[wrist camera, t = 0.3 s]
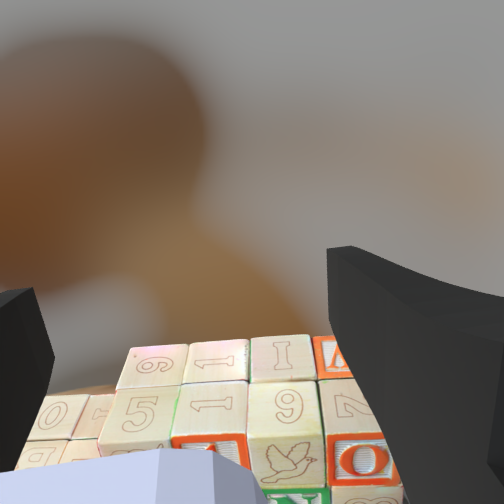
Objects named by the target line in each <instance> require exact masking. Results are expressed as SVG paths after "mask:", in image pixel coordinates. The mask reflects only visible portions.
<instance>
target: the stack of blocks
mask: <svg viewBox="0 0 504 504" xmlns="http://www.w3.org/2000/svg"><path fill="white" fill-rule="evenodd" d="M159 448H174V449H197V450H212V451H214V452H216V453H218V454H220V455H222V456H224V457H226V458H228V459H230V460H231V461H233V462H235V463H237V464H239V465H241V466H243V467H245V468H247V469H249V470H251V471H252V472H253V474H254V476H255V478H256V480H257V482H258V484H259V486H260V487H261V489H262V491H263V493H264V495H265V497H266V499H267V501H268V503H269V504H403V490H404V487H403V484H402V481H401V479H400V476H399V473H398V471H397V468H396V466H395V463H394V461H393V458H392V456H391V453H390V450H389V448H388V445H387V443H386V440H385V438H384V435H383V433H382V431H381V429H380V427H379V425H378V423H377V420H376V418H375V416H374V415H373V413H372V411H371V409H370V407H369V405H368V403H367V401H366V400H365V398H364V396H363V394H362V392H361V390H360V388H359V386H358V384H357V383H356V381H355V379H354V377H353V375H352V373H351V371H350V369H349V367H348V366H347V364H346V362H345V360H344V358H343V356H342V354H341V352H340V350H339V347H338V344H337V342H336V339H335V336H334V335H332V336H316V337H313V338H311V337H310V336H309V335H307V334H304V335H287V336H272V337H258V338H252V339H251V340H250V341H248V340H246V339H236V340H225V341H211V342H196V343H193V344H191V345H187V344H177V345H163V346H149V347H134V348H131V349H130V352H129V354H128V357H127V360H126V363H125V365H124V368H123V371H122V373H121V376H120V379H119V382H118V384H117V387H116V393H115V394H101V395H90V394H83V395H64V396H45V398H44V400H43V403H42V405H41V408H40V410H39V413H38V415H37V418H36V420H35V422H34V425H33V427H32V429H31V432H30V434H29V437H28V439H27V441H26V444H25V446H24V448H23V451H22V453H21V455H20V458H19V460H18V462H17V465H16V467H15V470H14V471H16V470H22V469H29V468H35V467H42V466H48V465H55V464H61V463H68V462H74V461H81V460H87V459H94V458H100V457H107V456H113V455H120V454H126V453H133V452H139V451H146V450H152V449H159Z"/></svg>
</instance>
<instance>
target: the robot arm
mask: <svg viewBox="0 0 504 504" xmlns="http://www.w3.org/2000/svg"><path fill="white" fill-rule="evenodd" d="M327 278H328V310H329V321H330V324H331V327H332V330H333V333H334V336H335V339H336V342H337V344H338V347H339V350H340V352H341V354H342V356H343V358H344V360H345V362H346V364H347V366H348V367H349V369H350V371H351V373H352V375H353V377H354V379H355V381H356V383H357V384H358V386H359V388H360V390H361V392H362V394H363V396H364V398H365V400H366V401H367V403H368V405H369V407H370V409H371V411H372V413H373V415H374V416H375V418H376V420H377V423H378V425H379V427H380V429H381V431H382V433H383V435H384V438H385V440H386V443H387V445H388V448H389V450H390V453H391V456H392V458H393V461H394V463H395V466H396V468H397V471H398V473H399V476H400V479H401V481H402V484H403V487H404V489H405V492H406V495H407V498H408V500H409V503H410V504H504V297H500V296H495V295H491V294H486V293H482V292H478V291H474V290H470V289H467V288H463V287H459V286H455V285H452V284H449V283H445V282H442V281H439V280H437V279H434V278H431V277H428V276H425V275H423V274H419V273H417V272H415V271H412V270H410V269H407V268H405V267H402V266H400V265H397V264H395V263H393V262H390V261H388V260H386V259H384V258H381V257H379V256H377V255H374V254H372V253H370V252H367V251H365V250H362V249H360V248H357V247H354V246H345V247H337V248H329V249H327ZM54 360H55V356H54V353H53V349H52V346H51V343H50V340H49V337H48V334H47V331H46V328H45V324H44V321H43V318H42V315H41V312H40V308H39V305H38V302H37V299H36V296H35V293H34V290H33V287H31V288H23V289H17V290H16V289H15V290H8V291H5V292H2V293H0V504H269V503H268V501H267V499H266V497H265V495H264V493H263V491H262V489H261V487H260V486H259V484H258V482H257V480H256V478H255V476H254V474H253V472H252V471H251V470H249V469H247V468H245V467H243V466H241V465H239V464H237V463H235V462H233V461H231V460H230V459H228V458H226V457H224V456H222V455H220V454H218V453H216V452H214V451H212V450H197V449H174V448H159V449H152V450H146V451H139V452H133V453H126V454H120V455H113V456H107V457H100V458H94V459H87V460H81V461H74V462H68V463H61V464H55V465H48V466H42V467H35V468H29V469H22V470H16V471H14V470H15V467H16V465H17V462H18V460H19V458H20V455H21V453H22V451H23V448H24V446H25V444H26V441H27V439H28V437H29V434H30V432H31V429H32V427H33V425H34V422H35V420H36V418H37V415H38V413H39V410H40V408H41V405H42V403H43V400H44V398H45V395H46V393H47V389H48V385H49V382H50V378H51V373H52V369H53V364H54Z"/></svg>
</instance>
